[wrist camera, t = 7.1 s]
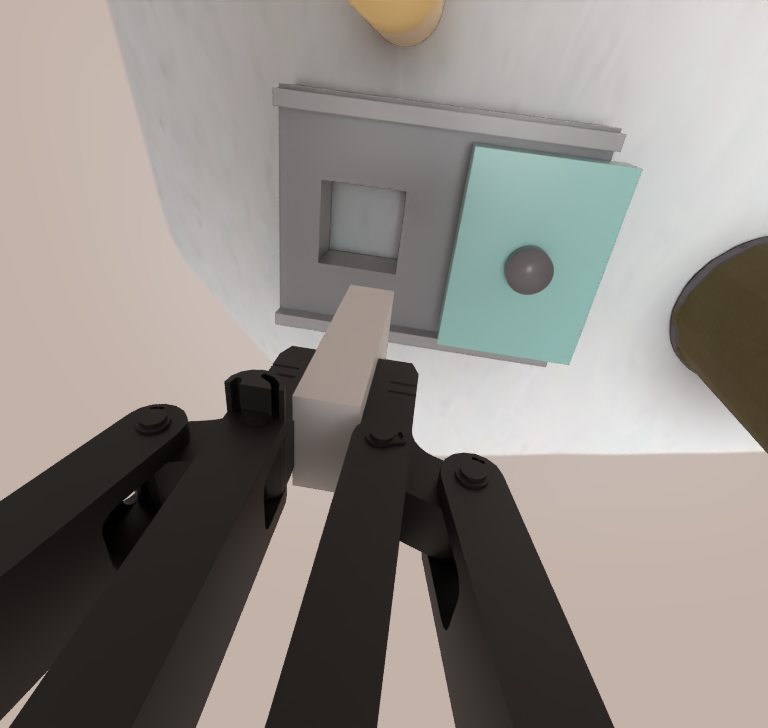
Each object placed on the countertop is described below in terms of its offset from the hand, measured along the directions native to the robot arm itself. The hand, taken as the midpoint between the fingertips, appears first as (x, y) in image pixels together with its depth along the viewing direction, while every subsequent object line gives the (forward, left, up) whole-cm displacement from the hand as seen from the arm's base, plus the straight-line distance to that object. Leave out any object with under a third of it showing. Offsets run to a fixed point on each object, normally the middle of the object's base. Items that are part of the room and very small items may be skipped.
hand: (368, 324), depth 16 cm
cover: (0, +7, -13) cm, 15 cm away
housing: (0, +1, -16) cm, 16 cm away
